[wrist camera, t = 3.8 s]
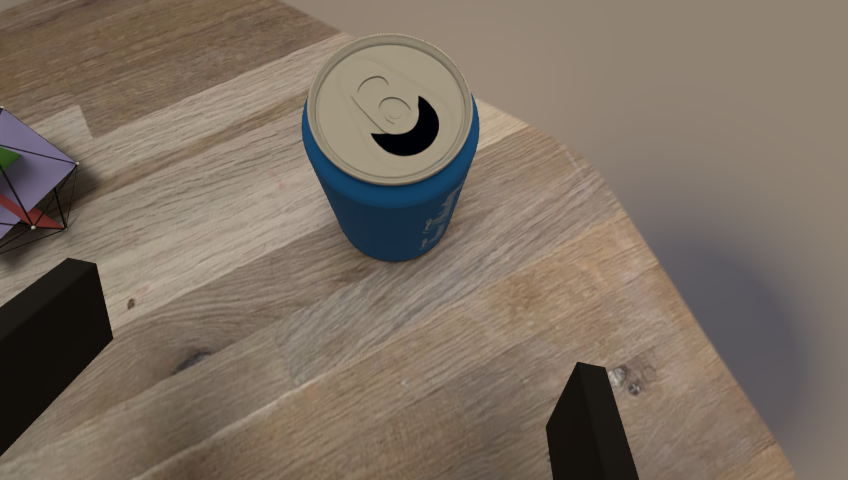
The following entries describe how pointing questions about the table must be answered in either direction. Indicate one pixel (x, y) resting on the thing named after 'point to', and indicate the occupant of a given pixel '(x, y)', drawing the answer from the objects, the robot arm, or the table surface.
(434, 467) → the table surface
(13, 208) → the geometric puzzle
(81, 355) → the robot arm
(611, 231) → the table surface
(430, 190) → the beverage can
